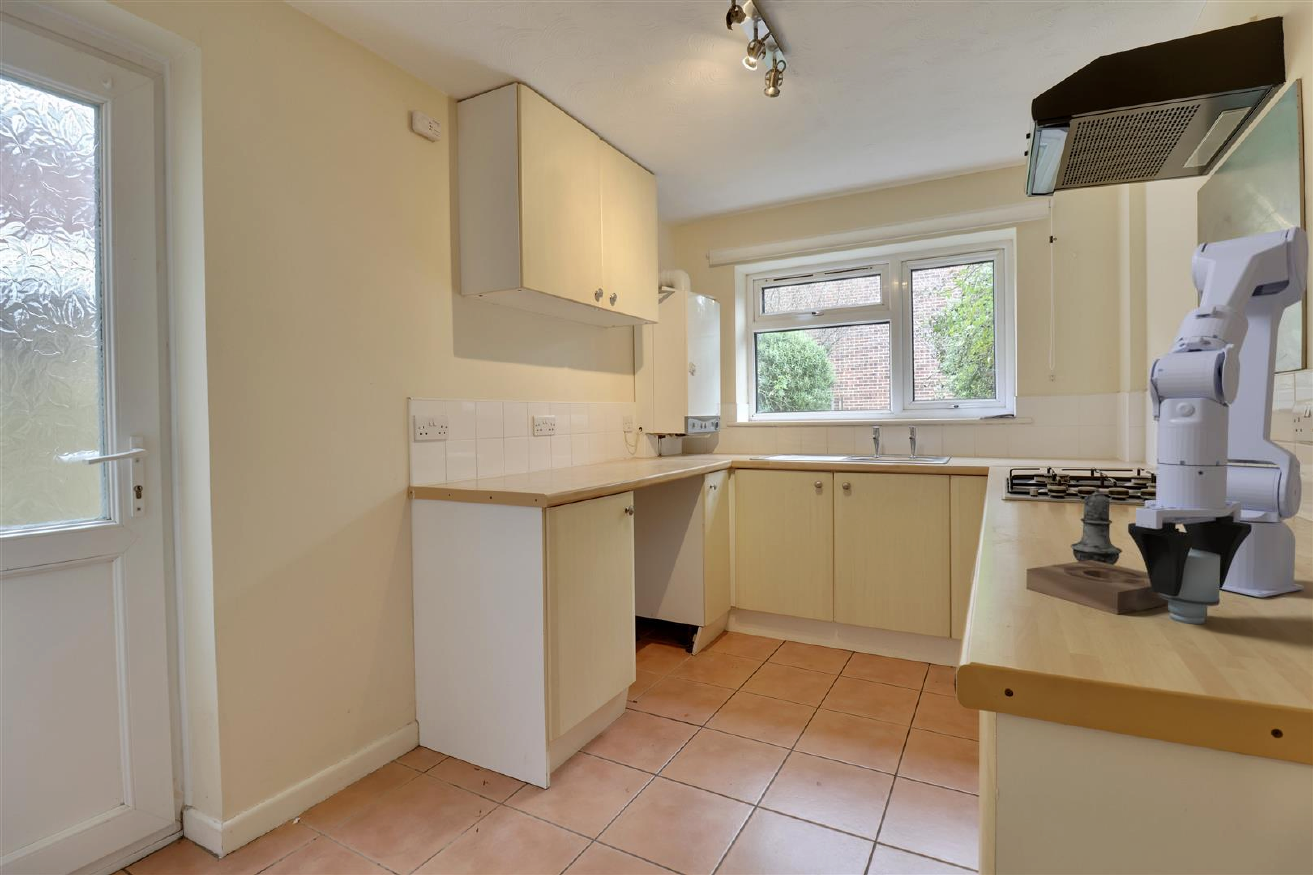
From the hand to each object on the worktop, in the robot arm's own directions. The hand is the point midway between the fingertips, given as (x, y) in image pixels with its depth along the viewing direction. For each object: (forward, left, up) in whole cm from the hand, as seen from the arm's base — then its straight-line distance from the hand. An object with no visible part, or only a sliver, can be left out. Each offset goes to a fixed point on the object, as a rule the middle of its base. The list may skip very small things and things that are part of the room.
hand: (1187, 589), depth 66 cm
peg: (0, 0, -3) cm, 3 cm away
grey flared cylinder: (-10, -17, -4) cm, 20 cm away
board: (-1, -10, -3) cm, 10 cm away
